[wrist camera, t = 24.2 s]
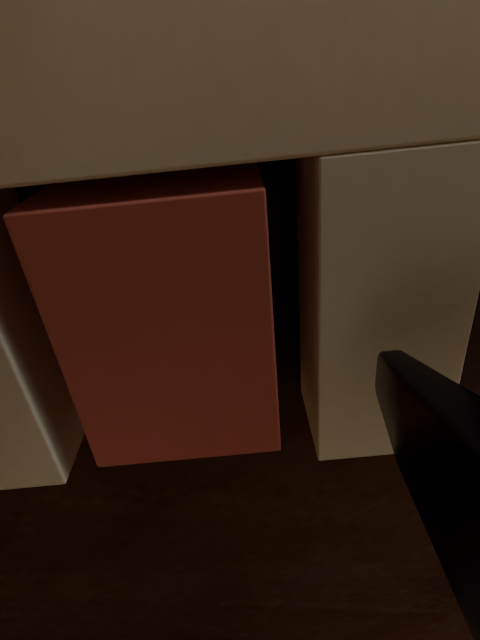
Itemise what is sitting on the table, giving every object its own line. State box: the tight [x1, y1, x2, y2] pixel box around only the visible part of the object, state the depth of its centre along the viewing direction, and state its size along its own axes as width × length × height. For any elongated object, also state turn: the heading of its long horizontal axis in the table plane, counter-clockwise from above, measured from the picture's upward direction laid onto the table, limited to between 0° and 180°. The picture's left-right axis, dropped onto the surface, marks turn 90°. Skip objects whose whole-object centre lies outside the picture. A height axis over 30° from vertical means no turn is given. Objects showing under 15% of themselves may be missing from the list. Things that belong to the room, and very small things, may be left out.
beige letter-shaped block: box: [0, 0, 480, 490], centre depth 9 cm, size 16×14×3 cm
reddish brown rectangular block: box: [3, 163, 281, 467], centre depth 11 cm, size 7×5×3 cm
